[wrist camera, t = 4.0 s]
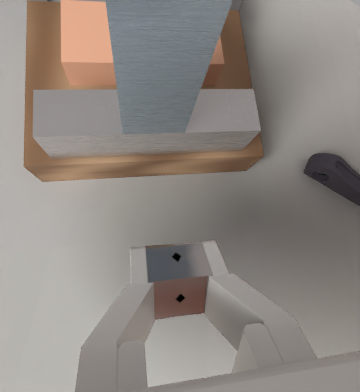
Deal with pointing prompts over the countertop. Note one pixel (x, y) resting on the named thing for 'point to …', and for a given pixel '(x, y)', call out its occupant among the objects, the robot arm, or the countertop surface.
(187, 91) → the scraper
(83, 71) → the tile
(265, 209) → the countertop surface
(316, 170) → the bracket
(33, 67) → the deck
